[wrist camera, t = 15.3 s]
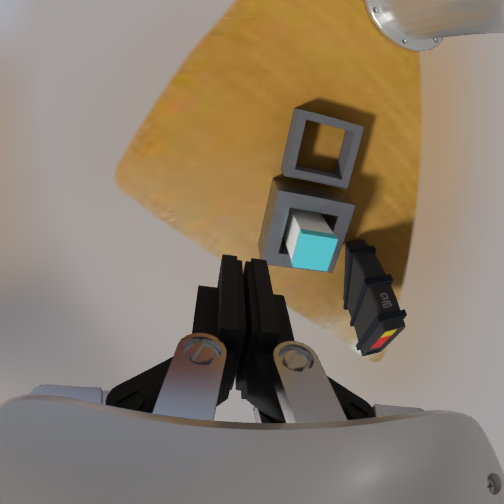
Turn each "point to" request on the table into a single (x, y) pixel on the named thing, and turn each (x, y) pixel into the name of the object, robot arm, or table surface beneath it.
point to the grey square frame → (345, 156)
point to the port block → (304, 198)
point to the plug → (309, 240)
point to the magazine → (370, 299)
